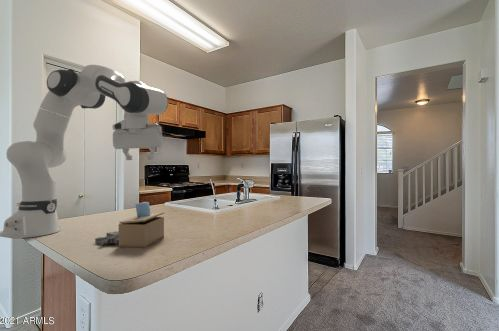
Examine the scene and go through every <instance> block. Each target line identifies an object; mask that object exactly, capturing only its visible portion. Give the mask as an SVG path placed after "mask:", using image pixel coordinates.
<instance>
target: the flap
mask: <svg viewBox="0 0 499 331" xmlns="http://www.w3.org/2000/svg"><path fill="white" fill-rule="evenodd" d="M150 213H151V212H150ZM164 214H165V212H164V211H162V212H152V213H151V215H149V216H145V217H137V215H136V216H133V217H130V218H127V219H123V220H121V221H119V223H118V224H121V223H132V222H143V221H147V220H149V219H152V218H154V217H160V216H161V215H164Z"/></svg>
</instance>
